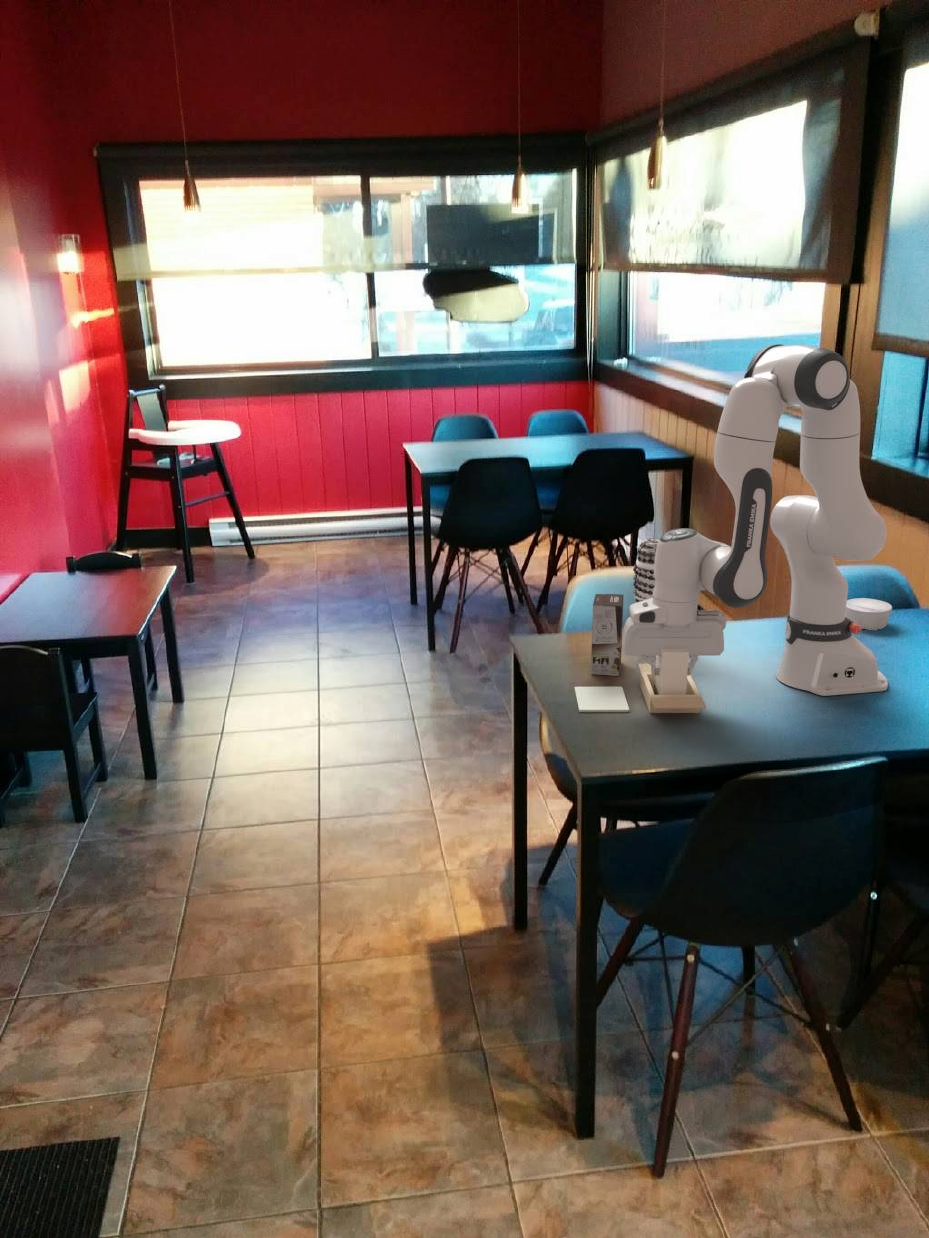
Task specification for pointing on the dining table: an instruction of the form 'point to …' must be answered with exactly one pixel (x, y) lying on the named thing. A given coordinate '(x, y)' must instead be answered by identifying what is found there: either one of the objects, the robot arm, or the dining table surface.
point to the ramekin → (868, 613)
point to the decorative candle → (645, 570)
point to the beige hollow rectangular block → (669, 702)
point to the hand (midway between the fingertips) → (670, 674)
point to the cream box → (672, 672)
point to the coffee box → (607, 634)
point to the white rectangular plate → (601, 699)
